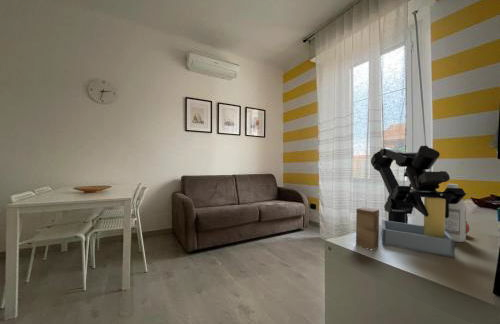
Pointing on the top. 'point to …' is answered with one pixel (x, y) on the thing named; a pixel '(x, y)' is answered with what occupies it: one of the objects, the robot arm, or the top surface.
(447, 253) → the tray
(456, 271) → the top surface
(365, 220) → the walnut block
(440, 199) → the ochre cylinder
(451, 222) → the bath foam
